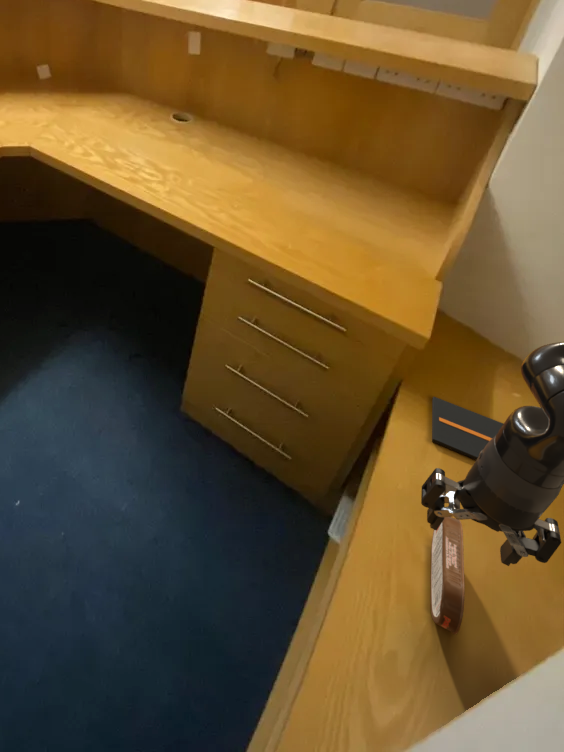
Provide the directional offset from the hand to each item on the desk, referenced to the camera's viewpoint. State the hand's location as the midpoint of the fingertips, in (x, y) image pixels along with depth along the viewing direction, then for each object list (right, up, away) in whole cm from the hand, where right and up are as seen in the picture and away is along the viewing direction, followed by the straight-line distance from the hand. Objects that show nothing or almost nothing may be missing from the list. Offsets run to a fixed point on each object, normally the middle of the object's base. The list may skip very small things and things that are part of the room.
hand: (467, 539), depth 71 cm
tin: (0, -12, +7) cm, 14 cm away
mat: (+20, 0, +26) cm, 33 cm away
